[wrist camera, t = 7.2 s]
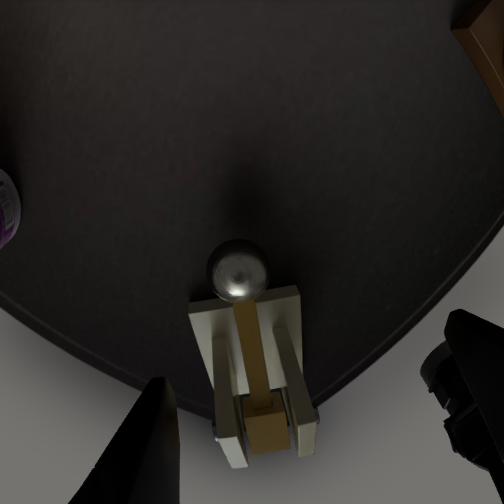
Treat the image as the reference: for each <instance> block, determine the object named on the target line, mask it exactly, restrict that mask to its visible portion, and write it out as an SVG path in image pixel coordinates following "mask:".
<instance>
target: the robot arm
mask: <svg viewBox="0 0 504 504" xmlns="http://www.w3.org/2000/svg"><path fill="white" fill-rule="evenodd" d="M444 335H445V338H446V340H447V342H448V345H449V347H450V349H451V352H452V354H453V356H452V357H449V358H447V359H445V360H443V361H441V362H440V364H439V366H438V369H437V371H436V373H435V376H434V378H433V380H432V382H431V385H430V387H429V389H428V392H429V393H434V395H435V396H436V398H437V400H438V401H439V403H440V404H441V406H442V408H443V409H447V411H448V413H449V414H450V417H449V418H447V419H446V420H444V423H445V424H444V428H445V429H446V431H447V433H448V435H449V438H450V442H451V445H452V449H453V451H454V452H455V453H459V454H460V455H461V456H462V457H463V458H466V459H467V460H468V461H470V462H471V463H473V464H474V465H476V466H477V467H479V468H482V469H484V470H486V471H489V473H490V475H491V477H492V480H493V482H494V484H495V486H496V489H497V491H498V493H499V496H500V498H501V501H502V503H503V504H504V328H502V327H499V326H497V325H495V324H493V323H491V322H489V321H487V320H484V319H482V318H480V317H478V316H476V315H474V314H472V313H469V312H467V311H465V310H463V309H457V310H454V311H452V312H450V314H449V316H448V320H447V323H446V326H445V329H444ZM94 467H95V468H93V469H92V470H91V472H90V474H89V475H88V477H87V478H86V480H85V481H84V483H83V484H82V486H81V487H80V489H79V490H78V491H77V493H76V494H75V495H74V496H73V498H72V499H71V500H70V502H69V503H68V504H180V502H179V480H180V479H179V477H180V476H179V474H180V441H179V430H178V419H177V406H176V397H175V394H174V391H173V389H172V388H171V386H170V384H169V382H168V380H167V378H166V377H155V378H152V379H151V380H150V381H149V383H148V384H147V386H146V387H145V389H144V390H143V392H142V394H141V395H140V397H139V398H138V400H137V401H136V403H135V404H134V406H133V407H132V409H131V410H130V412H129V413H128V415H127V417H126V418H125V419H124V421H123V423H122V424H121V426H120V427H119V429H118V430H117V432H116V433H115V435H114V436H113V438H112V440H111V441H110V443H109V444H108V446H107V447H106V449H105V450H104V452H103V454H102V455H101V457H100V458H99V460H98V461H97V463H96V464H95V466H94Z"/></svg>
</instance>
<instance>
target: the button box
mask: <svg viewBox="0 0 504 504" xmlns="http://www.w3.org/2000/svg"><path fill="white" fill-rule="evenodd" d="M451 31H452V32H453V34H454V35H455V36H456V38H457V39H458V41H459V42H460V44H461V45H462V47H463V48H464V50H465V51H466V53H467V54H468V56H469V57H470V59H471V60H472V62H473V64H474V65H475V67H476V69H477V70H478V72H479V74H480V75H481V77H482V79H483V80H484V82H485V84H486V86H487V88H488V89H489V91H490V93H491V95H492V97H493V99H494V101H495V103H496V105H497V107H498V109H499V111H500V113H501V115H502V117H504V0H477V1H476V2H475V3H474V4H473V5H472V6H471V7H470V9H469V10H468V11H467V12H466V13H465V14H464V15H463V16H462V18H461V19H460V20H459V21H458V22H457V23H456V24H455V25H454V27H453V28H452V29H451Z"/></svg>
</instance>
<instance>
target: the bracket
mask: <svg viewBox="0 0 504 504" xmlns="http://www.w3.org/2000/svg"><path fill="white" fill-rule="evenodd" d="M255 304H256V310H257V316H258V322H259V328H260V333H261V339H262V345H263V351H264V357H265V363H266V369H267V374H268V380H269V386H270V389H275V388H280V387H281V390H282V394H283V398H284V402H285V406H286V410H287V414H288V418H289V422H290V426H291V430H292V434H293V438H294V442H295V446H296V450H297V454H298V457H299V458H300V457H305V456H309V455H313V454H314V451H315V439H316V427H317V424H319V422H320V418H319V412H318V408H317V405H316V404H315V402H312V403H311V400H310V397H309V394H308V391H307V388H306V384H305V381H304V378H303V363H302V327H301V301H300V293H299V291H298V289H297V286H296V285H291V286H285V287H280V288H274V289H269V290H264V292H263V293H262V294H261V295H260V296H258V297H257V298H256V299H255ZM188 314H189V318H190V321H191V324H192V327H193V330H194V333H195V337H196V340H197V343H198V346H199V349H200V352H201V355H202V358H203V361H204V363H205V366H206V369H207V372H208V375H209V378H210V381H211V383H212V386H213V389H214V397H215V413H216V419H215V420H213V421H212V429H213V434H214V438H215V440H216V442H219V443H220V445H221V447H222V449H223V451H224V453H225V455H226V457H227V459H228V461H229V463H230V465H231V467H232V469H236V468H245V467H249V465H248V459H247V452H246V444H245V437H244V430H243V422H242V415H241V407H240V399H239V395H240V394H246V393H250V392H249V387H248V382H247V377H246V372H245V367H244V362H243V357H242V351H241V346H240V341H239V336H238V330H237V325H236V319H235V314H234V308H233V303H231V302H228V301H225V300H223V299H221V298H216V299H210V300H203V301H197V302H190V303H189V312H188Z"/></svg>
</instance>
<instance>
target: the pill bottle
mask: <svg viewBox="0 0 504 504" xmlns="http://www.w3.org/2000/svg"><path fill="white" fill-rule="evenodd" d="M20 214H21V204H20V198H19V194H18V192H17V190H16V187H15V185H14V183H13V182H12V180H11V178H10V177H9V176H8V174H7V173H6V172H4V171H3V170H2V169H1V168H0V249H1V248H2V247H3V246H4V245H5V244H6V243H7V242H8V241H9V240H10V239H11V238H12V237H13V235H14V234H15V232H16V230H17V228H18V226H19V223H20Z"/></svg>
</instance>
